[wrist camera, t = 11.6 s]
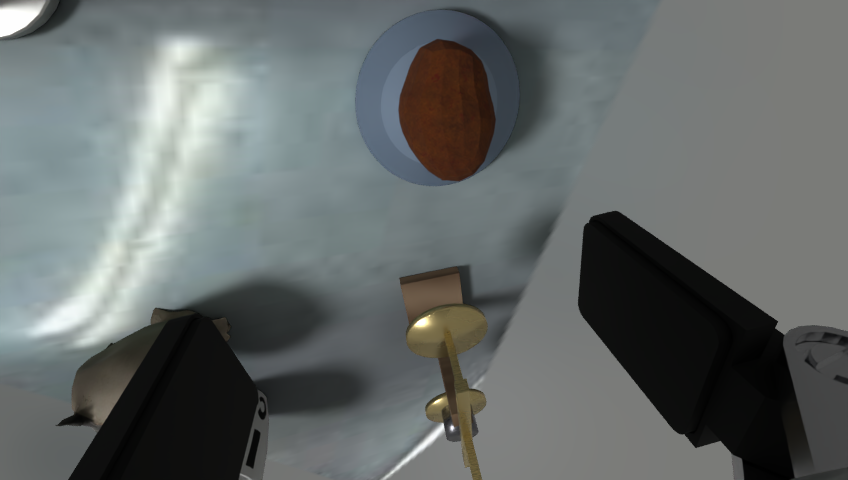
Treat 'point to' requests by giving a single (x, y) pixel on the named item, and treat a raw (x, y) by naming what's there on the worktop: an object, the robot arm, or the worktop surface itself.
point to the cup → (257, 443)
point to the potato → (447, 110)
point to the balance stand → (428, 294)
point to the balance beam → (447, 337)
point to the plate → (389, 72)
